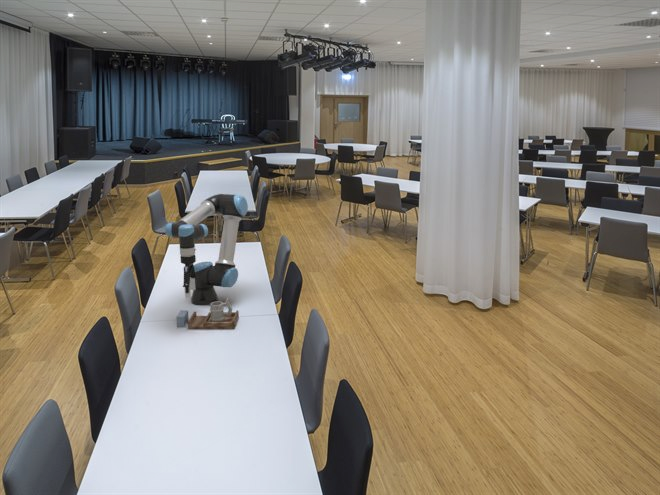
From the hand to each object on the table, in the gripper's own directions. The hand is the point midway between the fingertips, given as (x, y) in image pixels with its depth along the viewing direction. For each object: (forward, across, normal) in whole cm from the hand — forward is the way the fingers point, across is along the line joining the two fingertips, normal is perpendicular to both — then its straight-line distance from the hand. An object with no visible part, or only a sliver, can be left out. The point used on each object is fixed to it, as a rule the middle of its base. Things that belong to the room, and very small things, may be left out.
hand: (190, 294), depth 287 cm
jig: (+17, -1, -11) cm, 20 cm away
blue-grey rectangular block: (+17, 0, +5) cm, 18 cm away
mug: (+15, 0, -15) cm, 22 cm away
